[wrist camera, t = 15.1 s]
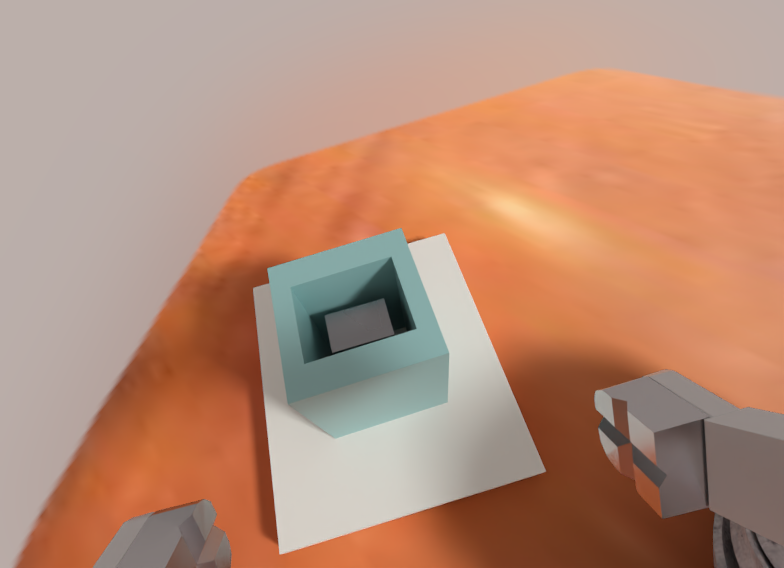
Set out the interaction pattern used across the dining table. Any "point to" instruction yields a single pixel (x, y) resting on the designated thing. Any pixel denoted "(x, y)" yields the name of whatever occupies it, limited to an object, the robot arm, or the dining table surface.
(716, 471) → the robot arm
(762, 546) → the decorative orb
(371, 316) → the grey rectangular block
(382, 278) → the teal square hollow box
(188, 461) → the dining table surface
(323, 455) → the board
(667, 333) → the dining table surface
